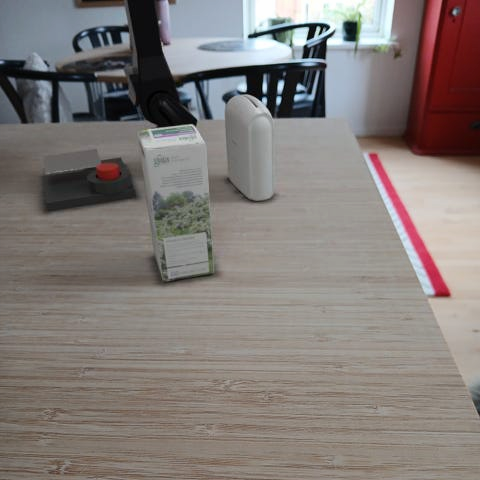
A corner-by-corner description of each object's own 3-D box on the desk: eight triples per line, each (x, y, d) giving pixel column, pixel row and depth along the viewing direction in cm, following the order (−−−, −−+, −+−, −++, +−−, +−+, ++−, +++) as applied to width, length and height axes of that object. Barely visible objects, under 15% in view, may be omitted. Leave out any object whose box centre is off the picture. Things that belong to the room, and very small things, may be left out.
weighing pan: (97, 151, 80) (96, 148, 80) (102, 168, 74) (102, 165, 74) (43, 158, 78) (43, 155, 78) (45, 176, 72) (44, 173, 72)
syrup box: (204, 250, 59) (193, 120, 51) (215, 275, 55) (205, 138, 46) (155, 258, 58) (135, 127, 50) (162, 284, 54) (142, 145, 45)
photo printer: (224, 178, 77) (219, 90, 70) (251, 173, 78) (249, 86, 71) (249, 204, 69) (246, 108, 62) (278, 198, 70) (279, 104, 63)
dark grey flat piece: (122, 165, 83) (119, 147, 81) (136, 199, 72) (133, 178, 70) (45, 176, 80) (40, 157, 78) (48, 213, 69) (42, 192, 67)
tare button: (118, 172, 73) (116, 161, 72) (121, 179, 71) (119, 168, 70) (97, 175, 73) (95, 164, 72) (99, 182, 70) (97, 171, 69)
